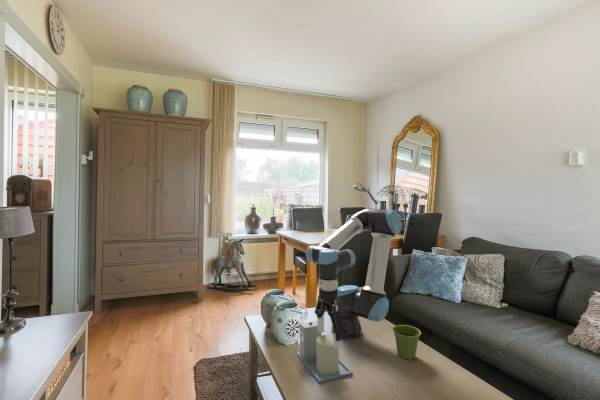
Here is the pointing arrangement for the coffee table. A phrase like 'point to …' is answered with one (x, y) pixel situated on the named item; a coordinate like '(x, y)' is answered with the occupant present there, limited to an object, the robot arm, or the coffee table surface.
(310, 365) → the tray
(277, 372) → the coffee table surface
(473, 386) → the coffee table surface
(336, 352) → the can
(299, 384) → the coffee table surface
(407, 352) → the plant pot
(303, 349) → the box
